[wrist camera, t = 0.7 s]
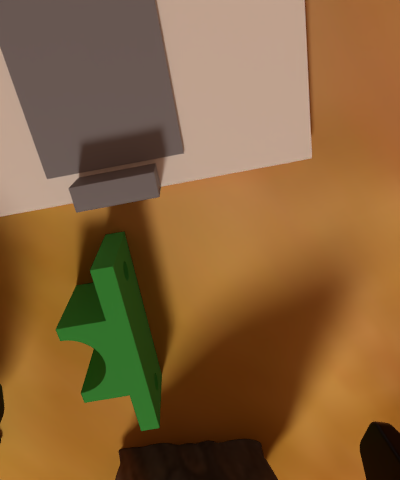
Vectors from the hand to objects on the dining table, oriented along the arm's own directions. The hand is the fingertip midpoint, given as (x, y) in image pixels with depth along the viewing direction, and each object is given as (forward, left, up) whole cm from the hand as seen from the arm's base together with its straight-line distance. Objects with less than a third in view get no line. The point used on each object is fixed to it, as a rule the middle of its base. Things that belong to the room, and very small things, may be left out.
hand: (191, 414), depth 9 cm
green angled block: (-5, -6, -14) cm, 16 cm away
